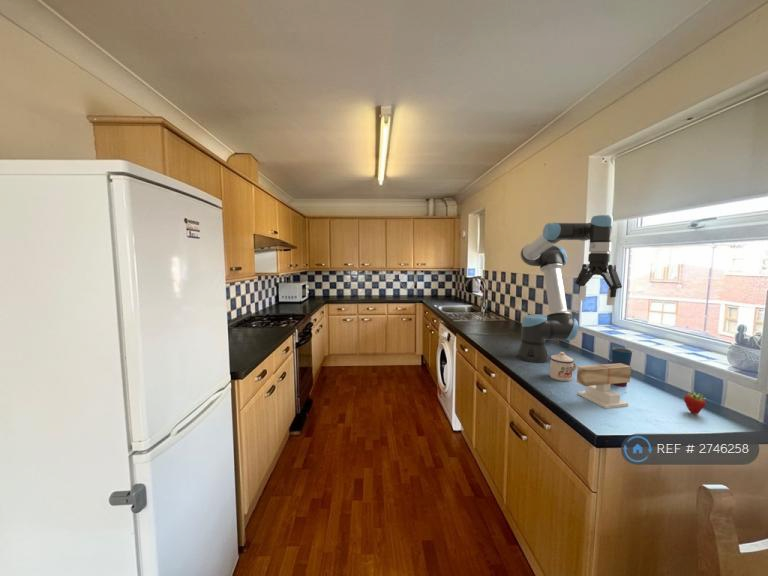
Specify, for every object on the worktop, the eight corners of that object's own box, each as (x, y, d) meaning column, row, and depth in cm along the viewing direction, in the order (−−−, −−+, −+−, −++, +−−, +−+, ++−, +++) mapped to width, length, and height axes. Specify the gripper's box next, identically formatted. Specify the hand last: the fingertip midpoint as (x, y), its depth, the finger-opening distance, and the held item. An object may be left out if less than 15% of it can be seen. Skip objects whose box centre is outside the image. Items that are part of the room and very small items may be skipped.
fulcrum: (577, 394, 122) (579, 376, 121) (598, 392, 124) (600, 375, 123) (605, 408, 110) (607, 389, 110) (628, 405, 112) (629, 387, 112)
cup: (632, 388, 128) (636, 352, 127) (614, 386, 130) (617, 351, 128) (623, 381, 135) (626, 348, 134) (606, 380, 136) (608, 347, 135)
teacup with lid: (559, 382, 134) (560, 356, 132) (544, 374, 142) (546, 349, 141) (583, 380, 136) (584, 354, 135) (567, 373, 145) (568, 348, 144)
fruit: (699, 418, 104) (702, 395, 103) (679, 411, 109) (681, 389, 108) (707, 415, 106) (709, 393, 105) (687, 408, 111) (689, 387, 110)
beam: (576, 381, 116) (577, 366, 116) (619, 378, 120) (620, 362, 120) (585, 386, 112) (586, 369, 112) (629, 382, 116) (631, 366, 116)
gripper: (568, 253, 142) (565, 298, 144) (620, 252, 118) (615, 307, 120) (582, 253, 144) (578, 298, 146) (636, 252, 119) (631, 307, 122)
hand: (595, 302), depth 133 cm, fingers open, 13 cm apart
